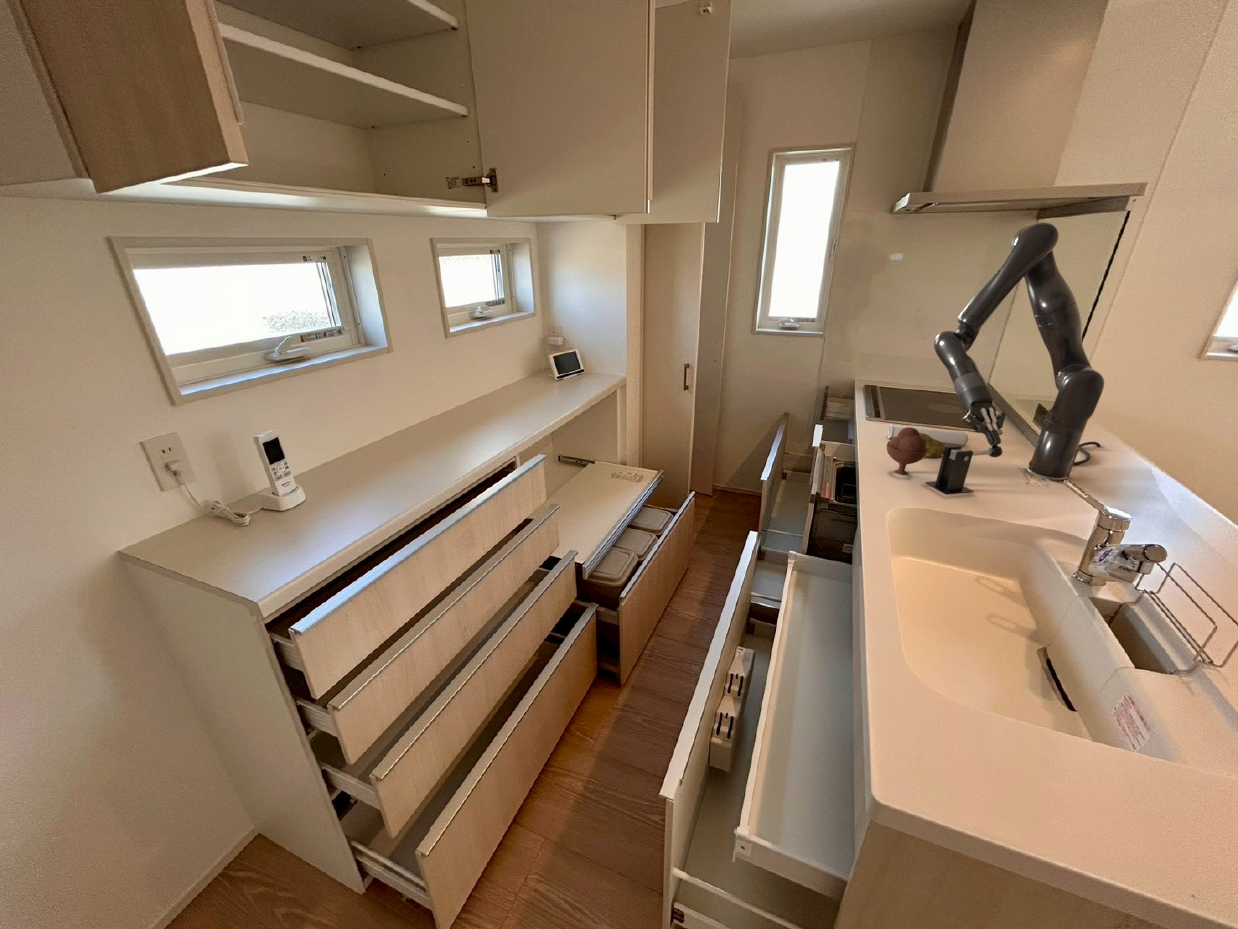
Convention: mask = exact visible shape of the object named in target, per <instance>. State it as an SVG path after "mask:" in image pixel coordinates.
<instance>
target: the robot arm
mask: <svg viewBox="0 0 1238 929" xmlns="http://www.w3.org/2000/svg"><path fill="white" fill-rule="evenodd" d="M1059 236H1060V234H1059V230H1058V228H1057V226H1055V225H1054V224H1052V223H1050V222H1036V223H1032V224H1029V225H1026V226H1024V227H1022V228H1021V229H1019V230H1018V231H1017V232H1016V233H1015V234H1014V236H1013V238H1012V239H1011V243H1010V249H1011V251H1010V253H1009V255H1008V256H1007V257H1006V259H1005V260H1004V262H1003V263H1002V265H1001V266H1000V268H998V269H997V271H996V272H995V274H993V275H992V277H991V278H990V279H989V280H988V281H987V282H986V283H985V284H984V285H983V286H982V287H981V288H980V289H979V290H978V291H977V293H976V294H974V296H973V297H972V298H971V299H970V300H969V302H968V303H967V304H966V306H965V307H964V309H962V311H961V312H960V314H959V315H958V317H957V322H958V326H957V328H956V330H955V331H953V330H945V331H941V332H939V334H938V335H936V337H935V339H934V342H933V349H934V352H935V354H936V355H937V357H938V359H939V360H940V362H941V363H942V364H943V366H944V367H945V368H946V369H947V372H948V375H949V377H950V380H951V382H952V383H953V388H954V391H955V393H956V395H957V398H958V400H959V402H960V405H961V407H962V409H963V410H964V411H965V413H966V415H965V416H963V417H962V418H961V421H962V422H963V423H965V424H966V425H967V426H968V427H970V428H971V429H972V430H973V431H975V433H978V434H979V433H981V434H983V435H984V436H985V438H986V441H987V443H988V444H989V445H990V447H991V446H995V445H996V446H999V445H1000V444H1001V443H1002V439H1001V437H1000V434H999V432H998V431H999V430H1001V429H1002V428H1003V426H1004V423H1005V419H1006V416H1007V415H1006V412H1004V411H1002V412H999V411H997V408H996V407H995V406H994V404H993V401H994V396H993V395H992V393H991V390H990V388H989V386H988V384H987V382H986V380H985V378H984V376H983V375H982V374H981V372H980V370H979V367H978V365H977V363H976V361H975V359H974V358H973V357H972V356H970V355H969V354H968V351H969V350H970V349H971V348H972V346H973V345H974V343H975V341H976V339H977V337H978V336H979V333H980V331H981V329H982V327H983V326H984V325H985V324H986V322H987V321H988V320H989V319H990V318H991V317H992V315H993V314H994V313H995V312H996V310H997V309H998V308H999V307H1000V306H1001V304H1002V303H1003V302H1004V300H1006V298H1007V297H1008V296H1009V295H1010V293H1011V292H1012V290H1013V289H1014V288H1015V287H1016V286H1017V284H1019V282H1021V280H1022V279H1023V278H1024V281H1025V285H1026V290H1027V296H1028V299H1029V303H1030V307H1031V311H1032V314H1033V317H1034V320H1035V323H1036V327H1037V329H1038V332H1039V335H1040V337H1041V339H1042V341H1043V344H1044V346H1045V347H1046V350H1047V353H1048V354H1049V357H1050V361H1051V365H1052V371H1053V378H1054V384H1055V387H1056V389H1057V394H1056V397H1055V399H1054V403H1053V405H1052V407H1051V408H1050V409H1048V410H1047V413H1046V415H1045V418H1044V421H1043V423H1042V424H1043V425H1042V428H1041V430H1040V433H1039V436H1038V440H1037V442H1036V445H1035V448H1034V450H1033V454H1032V457H1031V459H1030V461H1029V462H1028V465H1027V467H1028V468H1027V471H1028V472H1030V473H1032V474H1034V475H1037V476H1040V477H1042V478H1045V479H1046V480H1048V481H1052V482H1053V481H1054V482H1063V481H1065V480H1064V479H1066V480H1067V479H1068V478H1069V477H1070V474H1071V472H1072V469H1073V467H1074V466H1078V465H1082V464H1085V463H1087V462H1089V461H1090V459H1091V454H1090V453H1089V452H1088V451H1087V450H1086V449H1084V448H1082V447H1085V446H1091V445H1094V446H1096V447H1097V448H1101V447H1102V445H1101V444H1100V443H1099V442H1098V441H1085V442H1083V443H1081V440H1082V437H1083V434H1084V432H1085V429H1086V426H1087V424H1088V421H1089V420H1090V418H1091V417H1092V416H1093V415H1094V413H1095V411H1096V409H1097V406H1098V404H1099V401H1100V399H1101V396H1102V394H1103V392H1104V387H1105V379H1104V377H1103V375H1102V374H1101V373H1100V372H1098V371H1097V370H1096V369H1094V368H1093V366H1092V365H1091V363H1090V361H1089V359H1088V356H1087V354H1086V352H1085V348H1084V344H1083V323H1082V317H1081V312H1080V309H1079V306H1078V302H1077V299H1076V297H1075V295H1074V293H1073V290H1072V289H1071V288H1070V285H1069V283H1068V282H1067V281H1066V280H1065V279H1066V278H1064V277H1063V275H1062V273H1061V271H1060V270H1059V267H1058V265H1057V262H1056V258H1055V257H1056V256H1055V253H1054V248H1055V247H1056V246H1057V244H1058V242H1059V239H1060V238H1059ZM1079 452H1081V453H1082V454H1084V455H1085V458H1084V459H1082V460H1079V461H1078V460H1077V461H1076V459H1077V456H1078V454H1079Z"/></svg>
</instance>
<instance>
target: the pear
mask: <svg viewBox="0 0 1238 929" xmlns="http://www.w3.org/2000/svg"><path fill="white" fill-rule="evenodd" d="M919 434H920V437H922V438H923V439H924V440H925V442H926V448H928V450H927V453H926V455H925V456H924V458H931V459H934V458H938V457H942V456H943V454H944V450H945V446H947V444H943V443H942V442H940V441H938V440H935V439H933V438H931V437H930V436H929V435H927V434H925V433H920V432H919Z"/></svg>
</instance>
